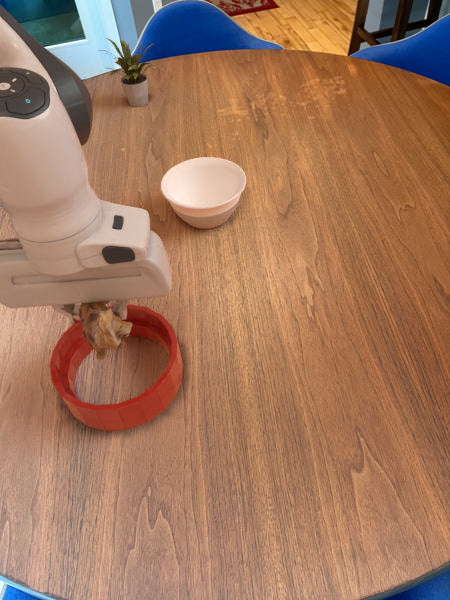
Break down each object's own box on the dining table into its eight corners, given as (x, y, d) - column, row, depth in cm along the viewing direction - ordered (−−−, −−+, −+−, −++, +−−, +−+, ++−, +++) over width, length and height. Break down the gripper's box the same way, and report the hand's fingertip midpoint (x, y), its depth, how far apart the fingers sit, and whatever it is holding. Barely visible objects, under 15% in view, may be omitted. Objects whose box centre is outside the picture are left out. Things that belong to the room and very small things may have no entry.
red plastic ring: (54, 437, 66) (37, 414, 61) (75, 334, 77) (62, 308, 72) (182, 428, 65) (175, 405, 60) (184, 326, 77) (178, 300, 72)
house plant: (96, 107, 128) (78, 42, 116) (131, 85, 135) (118, 22, 123) (136, 120, 122) (121, 53, 110) (170, 96, 129) (160, 31, 117)
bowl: (208, 256, 87) (203, 219, 81) (150, 221, 95) (142, 185, 88) (264, 212, 94) (264, 175, 88) (206, 183, 102) (202, 147, 96)
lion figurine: (147, 362, 59) (131, 317, 52) (107, 383, 57) (85, 339, 50) (104, 288, 67) (86, 241, 60) (68, 304, 66) (45, 257, 59)
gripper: (-42, 263, 48) (12, 343, 59) (159, 248, 48) (178, 331, 58) (-23, 223, 53) (24, 304, 63) (161, 208, 52) (179, 293, 63)
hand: (100, 317), depth 61 cm, fingers closed on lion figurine, 4 cm apart
